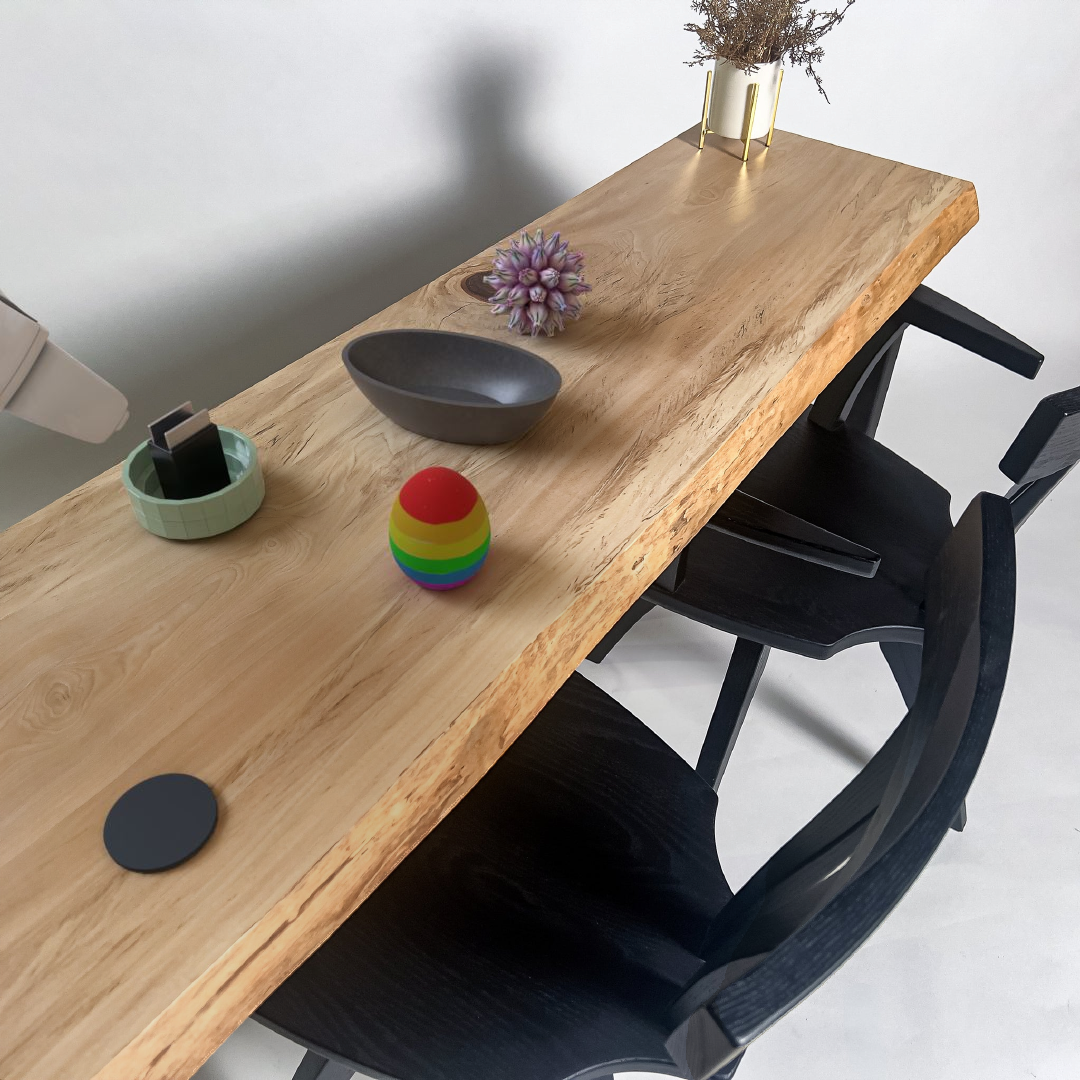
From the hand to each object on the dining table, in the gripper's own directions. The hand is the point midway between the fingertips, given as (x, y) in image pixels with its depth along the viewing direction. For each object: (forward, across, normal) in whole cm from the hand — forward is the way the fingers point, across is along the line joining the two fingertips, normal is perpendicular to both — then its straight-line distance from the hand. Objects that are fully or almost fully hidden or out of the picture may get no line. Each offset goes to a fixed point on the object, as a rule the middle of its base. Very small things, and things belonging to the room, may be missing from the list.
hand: (77, 393), depth 74 cm
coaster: (-1, +26, -21) cm, 33 cm away
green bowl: (+15, +3, -3) cm, 16 cm away
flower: (+40, +11, +31) cm, 52 cm away
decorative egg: (+17, +26, +2) cm, 31 cm away
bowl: (+28, +14, +16) cm, 35 cm away
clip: (+14, +3, -3) cm, 15 cm away
